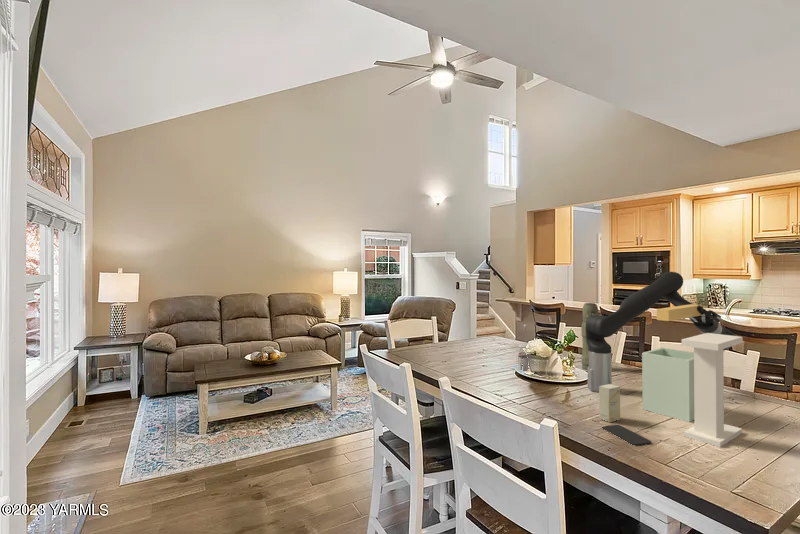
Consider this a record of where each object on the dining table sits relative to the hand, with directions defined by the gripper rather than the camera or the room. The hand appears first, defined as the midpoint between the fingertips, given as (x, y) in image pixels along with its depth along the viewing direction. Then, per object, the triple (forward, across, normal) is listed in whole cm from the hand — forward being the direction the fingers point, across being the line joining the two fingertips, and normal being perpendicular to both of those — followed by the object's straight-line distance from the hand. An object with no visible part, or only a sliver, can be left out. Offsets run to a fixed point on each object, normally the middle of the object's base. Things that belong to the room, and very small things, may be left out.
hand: (691, 306), depth 162 cm
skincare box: (+14, -11, +54) cm, 57 cm away
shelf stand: (+2, +16, +46) cm, 49 cm away
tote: (-10, -1, +40) cm, 41 cm away
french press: (-8, -71, +41) cm, 83 cm away
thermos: (-37, -56, +24) cm, 71 cm away
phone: (+22, 0, +59) cm, 63 cm away
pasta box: (+6, 0, +8) cm, 10 cm away
